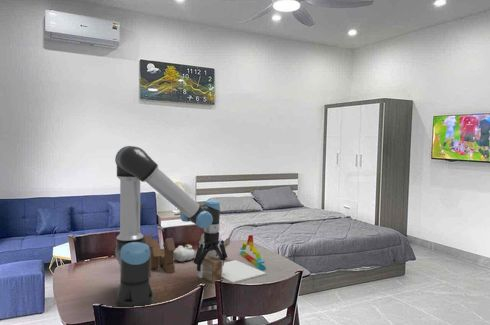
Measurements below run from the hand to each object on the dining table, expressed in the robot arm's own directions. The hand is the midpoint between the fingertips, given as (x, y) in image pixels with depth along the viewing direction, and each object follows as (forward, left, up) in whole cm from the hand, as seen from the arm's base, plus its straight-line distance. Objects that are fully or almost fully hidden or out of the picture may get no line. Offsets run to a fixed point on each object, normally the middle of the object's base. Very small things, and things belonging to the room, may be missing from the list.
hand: (210, 274), depth 183 cm
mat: (+16, +1, -2) cm, 16 cm away
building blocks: (-18, +27, -2) cm, 32 cm away
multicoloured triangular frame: (+35, +9, -2) cm, 36 cm away
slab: (0, 0, -2) cm, 2 cm away
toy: (+19, +25, -2) cm, 31 cm away
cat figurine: (+3, +32, -2) cm, 32 cm away
